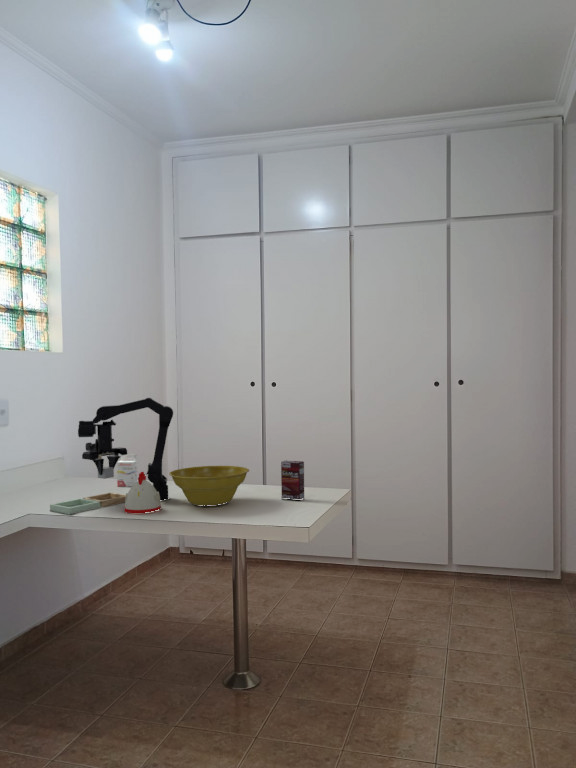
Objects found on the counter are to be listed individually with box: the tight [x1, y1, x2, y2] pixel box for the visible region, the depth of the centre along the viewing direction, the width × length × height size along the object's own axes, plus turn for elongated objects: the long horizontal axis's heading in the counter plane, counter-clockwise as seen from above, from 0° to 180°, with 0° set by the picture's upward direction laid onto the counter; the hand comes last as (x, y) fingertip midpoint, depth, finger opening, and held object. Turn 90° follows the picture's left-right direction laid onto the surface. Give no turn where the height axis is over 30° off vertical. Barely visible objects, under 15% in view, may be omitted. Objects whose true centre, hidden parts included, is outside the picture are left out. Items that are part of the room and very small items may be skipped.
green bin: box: [49, 498, 101, 516], centre depth 262 cm, size 13×14×2 cm
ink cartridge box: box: [116, 453, 138, 487], centre depth 314 cm, size 9×5×15 cm, turn 84°
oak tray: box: [82, 492, 126, 508], centre depth 274 cm, size 13×14×2 cm
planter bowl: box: [168, 465, 250, 506], centre depth 268 cm, size 32×32×13 cm
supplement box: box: [280, 459, 305, 499], centre depth 273 cm, size 9×5×16 cm, turn 62°
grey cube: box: [97, 466, 115, 480], centre depth 274 cm, size 4×4×4 cm
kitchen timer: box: [124, 471, 162, 514], centre depth 258 cm, size 14×14×15 cm
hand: (105, 474), depth 274 cm, fingers closed on grey cube, 4 cm apart
